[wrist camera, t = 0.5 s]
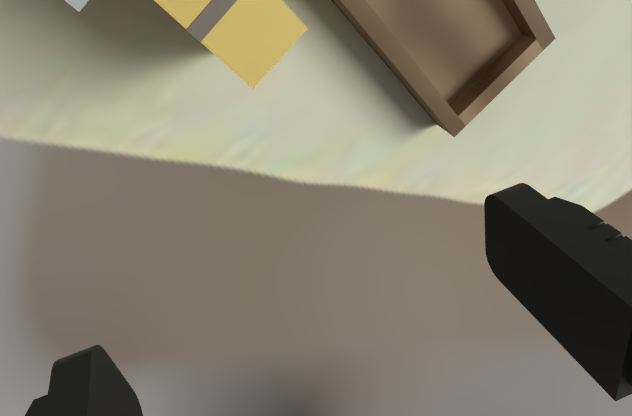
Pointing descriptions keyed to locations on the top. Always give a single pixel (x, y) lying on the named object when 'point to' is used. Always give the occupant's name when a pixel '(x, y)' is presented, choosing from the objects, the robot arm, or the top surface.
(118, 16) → the top surface
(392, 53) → the tray
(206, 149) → the top surface
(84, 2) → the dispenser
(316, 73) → the top surface
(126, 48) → the top surface
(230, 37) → the grey-banded yellow bar
